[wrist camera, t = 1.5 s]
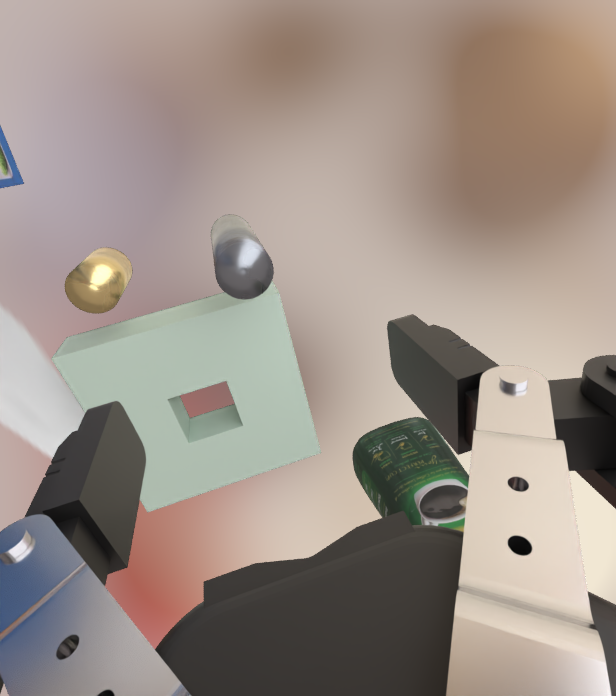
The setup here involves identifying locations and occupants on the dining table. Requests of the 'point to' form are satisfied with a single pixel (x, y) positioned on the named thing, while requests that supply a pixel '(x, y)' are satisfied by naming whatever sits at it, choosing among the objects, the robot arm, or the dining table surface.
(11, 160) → the milk carton
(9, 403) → the dining table surface
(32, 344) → the dining table surface
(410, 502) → the coffee jar
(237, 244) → the long pin
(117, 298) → the short pin
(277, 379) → the hole block
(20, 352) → the dining table surface
